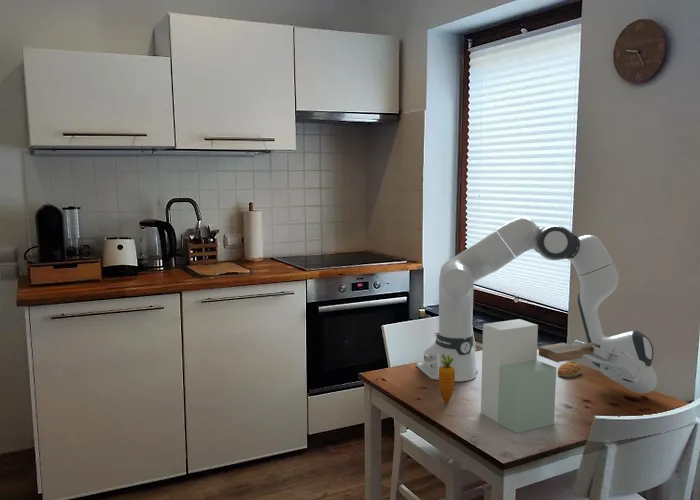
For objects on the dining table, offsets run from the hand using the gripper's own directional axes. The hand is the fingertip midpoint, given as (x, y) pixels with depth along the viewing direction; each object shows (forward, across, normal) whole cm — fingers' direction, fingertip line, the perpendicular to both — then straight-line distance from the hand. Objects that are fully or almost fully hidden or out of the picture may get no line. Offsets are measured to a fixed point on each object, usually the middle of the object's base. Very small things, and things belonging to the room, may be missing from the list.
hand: (587, 346), depth 170 cm
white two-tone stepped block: (+9, -4, +27) cm, 29 cm away
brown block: (+4, 0, +4) cm, 6 cm away
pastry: (-27, -25, +7) cm, 37 cm away
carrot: (+19, -21, +33) cm, 44 cm away
